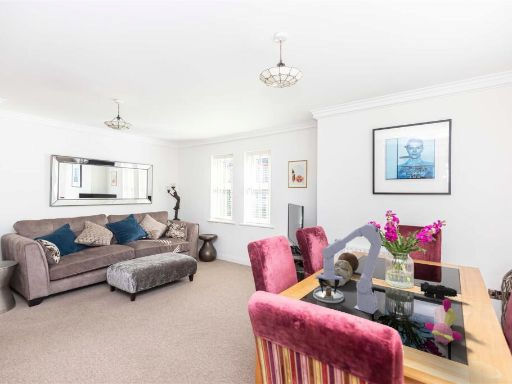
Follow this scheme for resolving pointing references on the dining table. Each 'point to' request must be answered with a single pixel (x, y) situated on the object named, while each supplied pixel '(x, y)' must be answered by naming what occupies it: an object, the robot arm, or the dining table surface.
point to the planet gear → (328, 293)
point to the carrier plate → (336, 298)
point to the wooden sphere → (350, 260)
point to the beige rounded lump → (340, 273)
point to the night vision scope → (437, 291)
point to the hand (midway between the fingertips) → (328, 292)
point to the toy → (444, 324)
